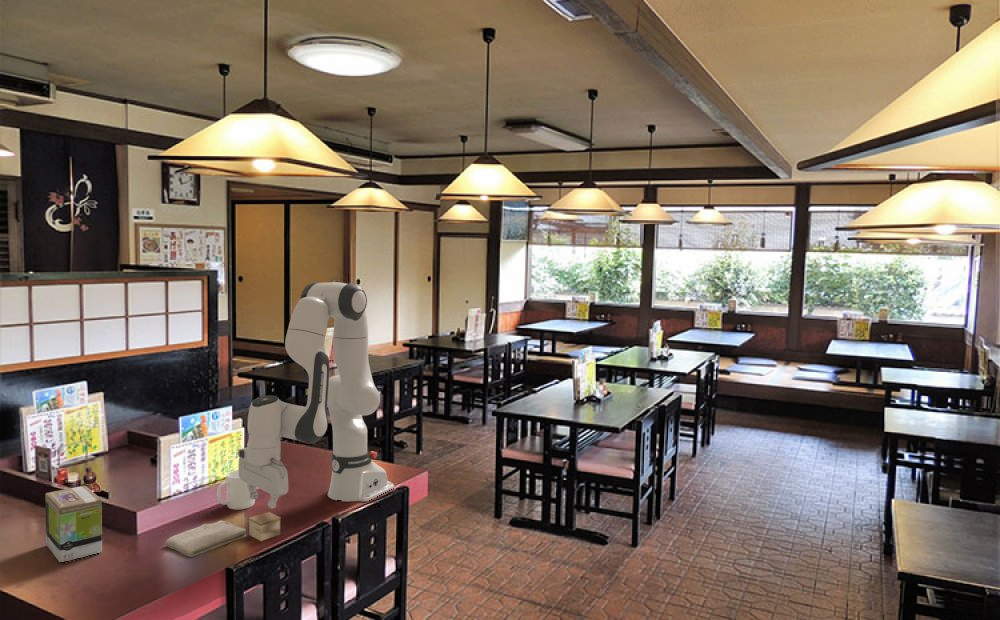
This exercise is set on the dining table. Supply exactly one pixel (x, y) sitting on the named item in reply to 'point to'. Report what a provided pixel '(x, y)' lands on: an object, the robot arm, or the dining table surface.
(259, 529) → the hinoki box
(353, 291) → the robot arm
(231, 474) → the cup
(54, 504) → the tea box
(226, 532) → the washcloth
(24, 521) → the dining table surface
